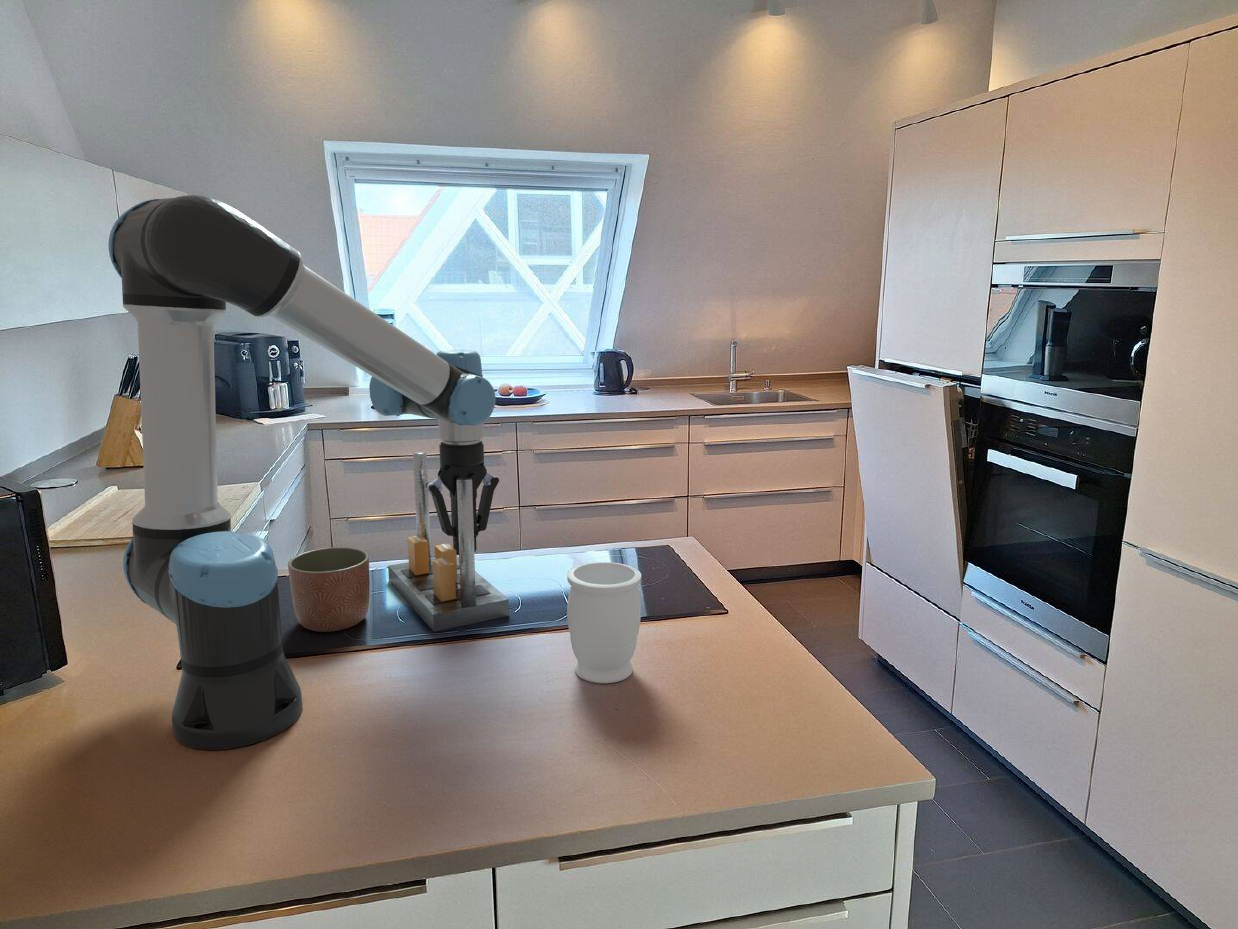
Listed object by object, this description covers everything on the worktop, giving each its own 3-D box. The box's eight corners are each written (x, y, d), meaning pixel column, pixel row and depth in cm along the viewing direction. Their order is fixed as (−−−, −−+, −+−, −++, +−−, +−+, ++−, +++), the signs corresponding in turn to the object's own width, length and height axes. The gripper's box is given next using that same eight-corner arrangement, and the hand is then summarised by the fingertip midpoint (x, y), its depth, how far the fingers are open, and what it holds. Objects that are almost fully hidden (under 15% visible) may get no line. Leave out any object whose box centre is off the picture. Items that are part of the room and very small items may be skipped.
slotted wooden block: (456, 598, 136) (454, 563, 135) (441, 601, 135) (440, 566, 134) (447, 591, 140) (446, 556, 138) (433, 593, 138) (432, 558, 137)
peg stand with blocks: (509, 615, 138) (506, 477, 132) (434, 632, 131) (427, 486, 126) (455, 569, 159) (451, 448, 154) (388, 580, 153) (381, 455, 148)
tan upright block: (457, 582, 144) (456, 548, 142) (443, 585, 142) (442, 551, 141) (449, 575, 147) (448, 542, 146) (436, 577, 146) (434, 544, 144)
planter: (300, 644, 126) (294, 577, 124) (287, 616, 137) (281, 554, 134) (381, 628, 133) (377, 564, 130) (362, 602, 143) (358, 542, 140)
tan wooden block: (429, 573, 148) (427, 540, 147) (415, 575, 147) (414, 542, 145) (422, 566, 151) (420, 534, 150) (409, 568, 150) (407, 536, 149)
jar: (654, 670, 119) (656, 573, 116) (605, 696, 112) (605, 593, 108) (602, 648, 126) (602, 555, 123) (552, 671, 119) (551, 573, 115)
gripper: (488, 433, 147) (491, 558, 153) (417, 440, 141) (423, 570, 146) (505, 440, 141) (507, 570, 146) (431, 448, 135) (437, 583, 140)
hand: (465, 570), depth 146 cm, fingers closed
